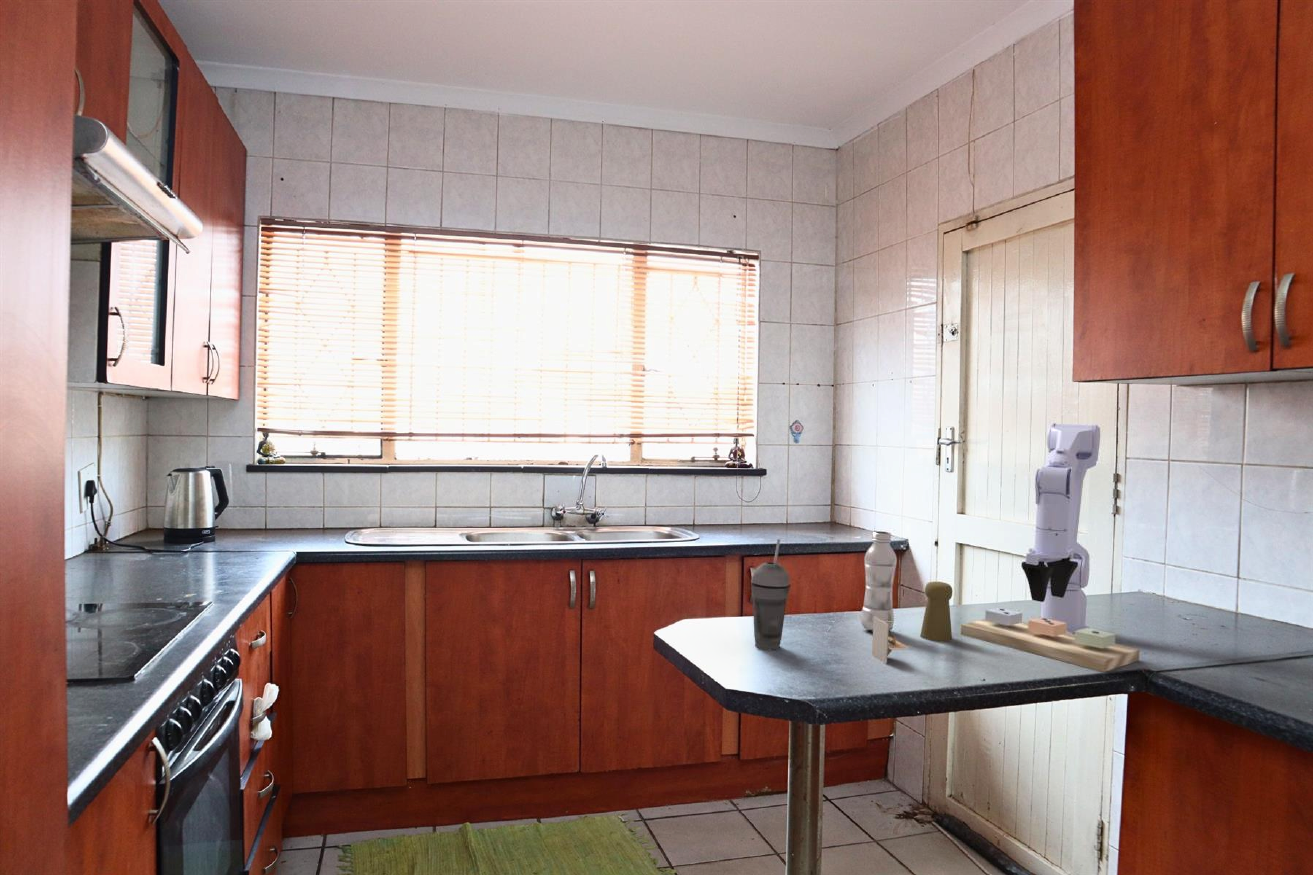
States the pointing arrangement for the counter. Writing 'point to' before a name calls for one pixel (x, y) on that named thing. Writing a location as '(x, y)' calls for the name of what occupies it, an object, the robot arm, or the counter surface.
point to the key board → (1052, 645)
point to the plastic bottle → (879, 580)
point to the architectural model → (884, 640)
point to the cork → (937, 612)
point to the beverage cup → (769, 602)
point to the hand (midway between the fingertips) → (1047, 598)
